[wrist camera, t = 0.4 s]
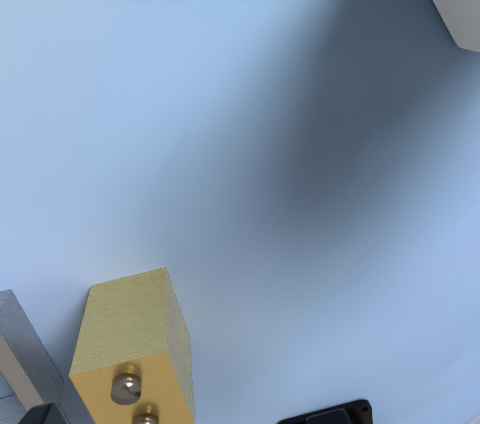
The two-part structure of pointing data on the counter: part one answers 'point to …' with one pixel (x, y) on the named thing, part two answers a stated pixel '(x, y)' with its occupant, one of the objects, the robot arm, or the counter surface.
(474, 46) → the milk carton
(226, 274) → the counter surface
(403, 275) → the counter surface
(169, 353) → the studded golden block
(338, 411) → the robot arm
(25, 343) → the chrome-studded grey beam
